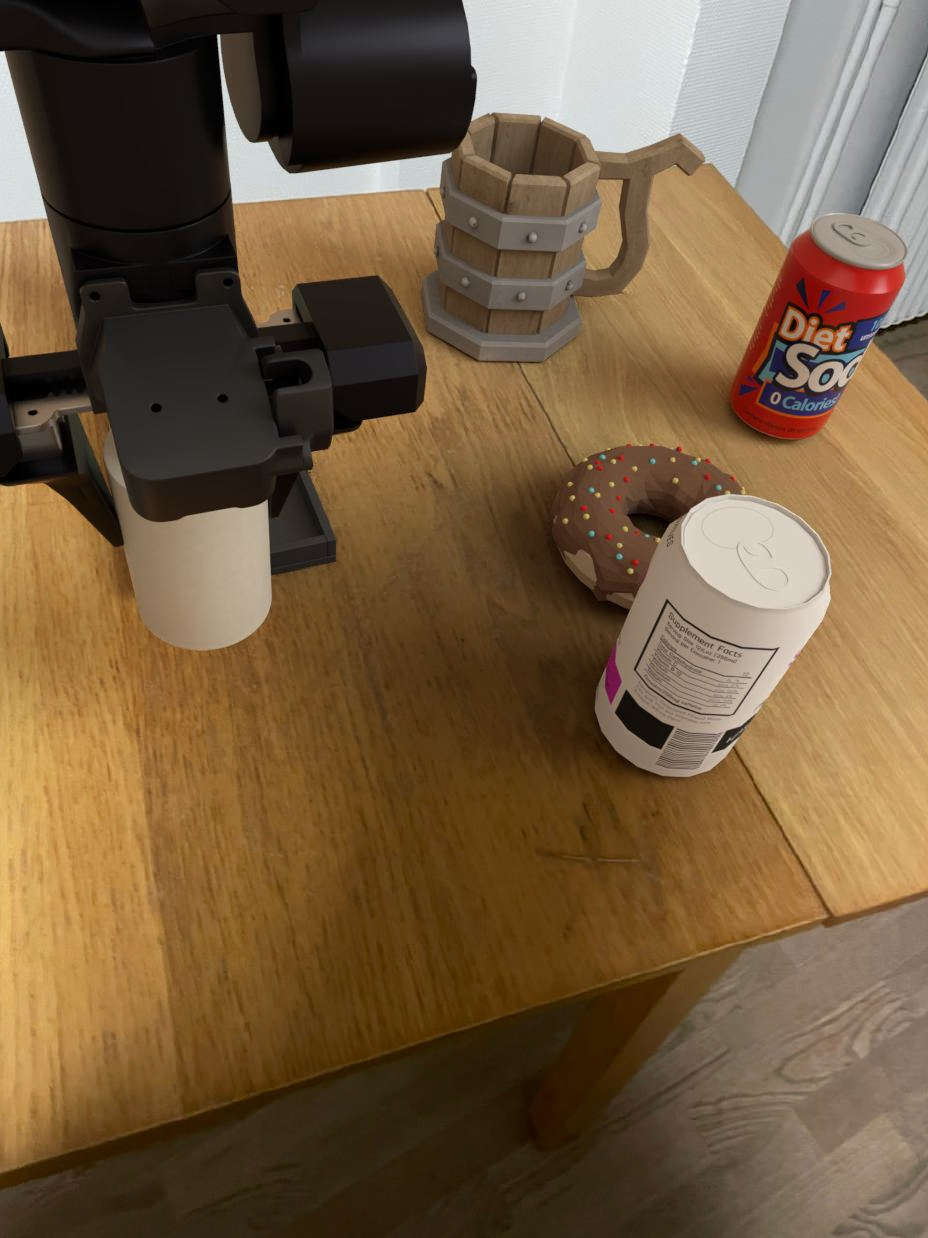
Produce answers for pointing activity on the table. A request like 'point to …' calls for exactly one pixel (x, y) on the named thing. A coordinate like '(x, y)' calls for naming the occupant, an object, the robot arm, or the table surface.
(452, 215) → the tankard
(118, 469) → the cream bottle
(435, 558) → the table surface
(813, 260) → the soda can
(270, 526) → the tray
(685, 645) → the supplement can
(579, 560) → the donut
